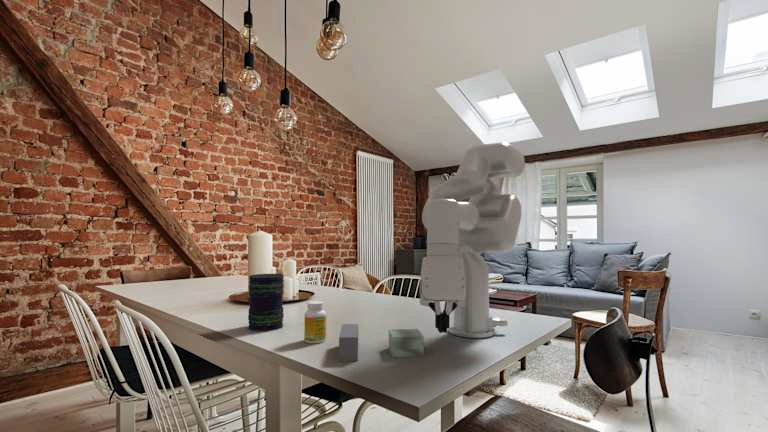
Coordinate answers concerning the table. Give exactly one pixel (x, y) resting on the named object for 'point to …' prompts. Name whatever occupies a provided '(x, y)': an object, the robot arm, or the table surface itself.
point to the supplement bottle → (315, 323)
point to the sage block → (406, 342)
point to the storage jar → (266, 302)
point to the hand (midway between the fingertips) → (442, 331)
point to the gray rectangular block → (348, 342)
